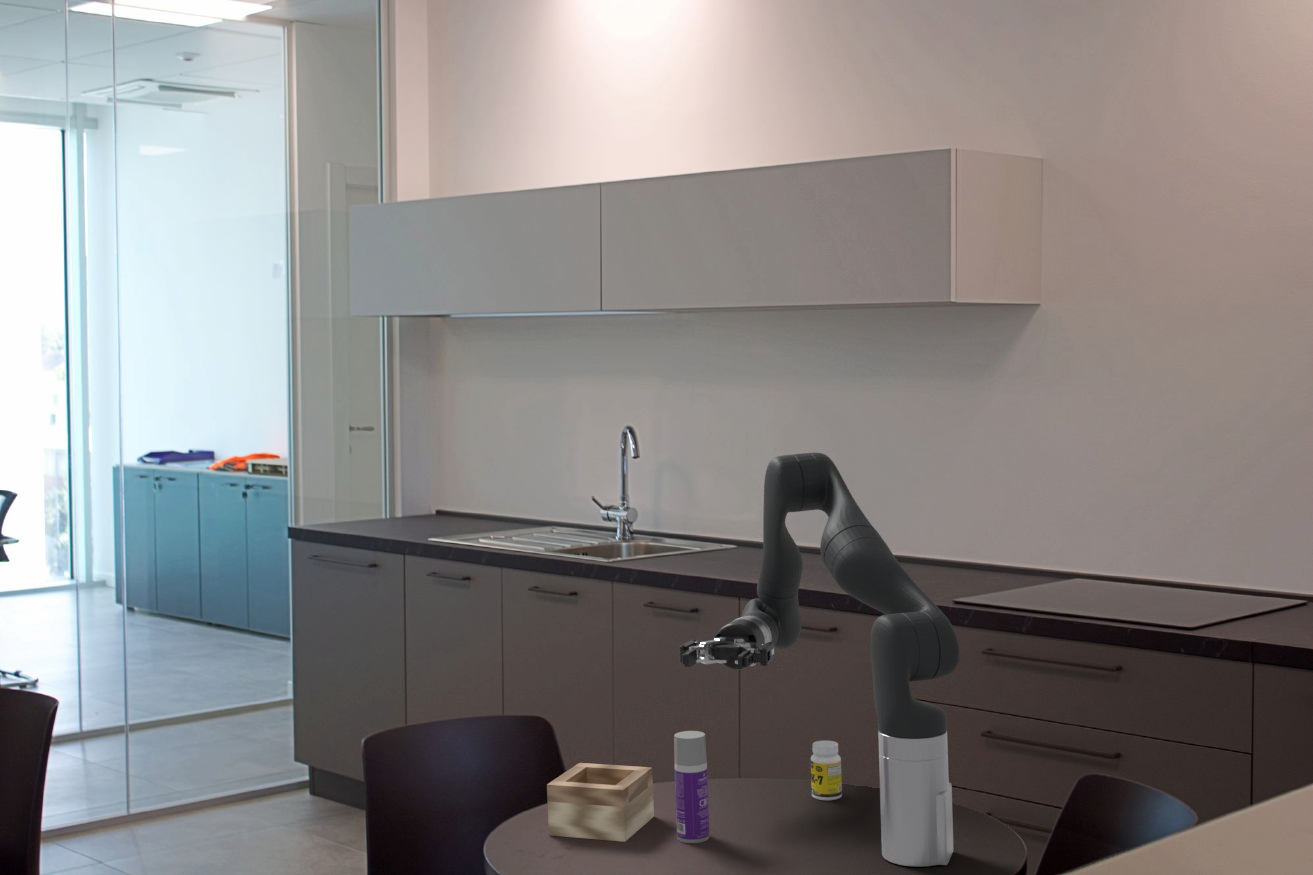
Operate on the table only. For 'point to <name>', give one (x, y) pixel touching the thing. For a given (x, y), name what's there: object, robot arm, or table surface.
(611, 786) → the wooden open tray
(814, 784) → the supplement bottle
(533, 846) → the table surface
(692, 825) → the container
